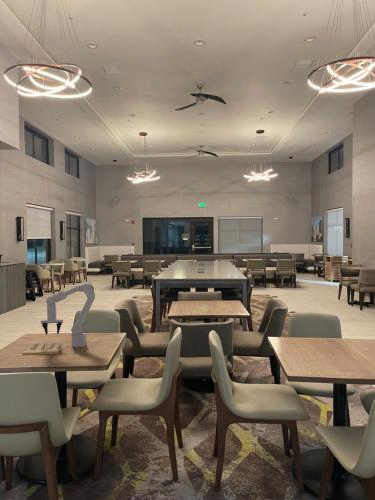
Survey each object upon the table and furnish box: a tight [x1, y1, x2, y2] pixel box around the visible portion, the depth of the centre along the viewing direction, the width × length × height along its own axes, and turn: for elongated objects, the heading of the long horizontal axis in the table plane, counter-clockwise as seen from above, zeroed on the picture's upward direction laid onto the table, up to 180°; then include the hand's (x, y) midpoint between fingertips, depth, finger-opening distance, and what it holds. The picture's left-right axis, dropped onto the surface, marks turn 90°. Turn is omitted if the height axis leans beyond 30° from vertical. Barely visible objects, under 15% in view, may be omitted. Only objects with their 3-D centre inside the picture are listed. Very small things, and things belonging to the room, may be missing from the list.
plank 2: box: [44, 342, 63, 350], centre depth 266 cm, size 10×6×1 cm, turn 91°
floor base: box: [22, 347, 64, 356], centre depth 264 cm, size 22×14×2 cm, turn 91°
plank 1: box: [26, 342, 46, 350], centre depth 266 cm, size 10×6×1 cm, turn 91°
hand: (52, 333), depth 273 cm, fingers open, 7 cm apart
